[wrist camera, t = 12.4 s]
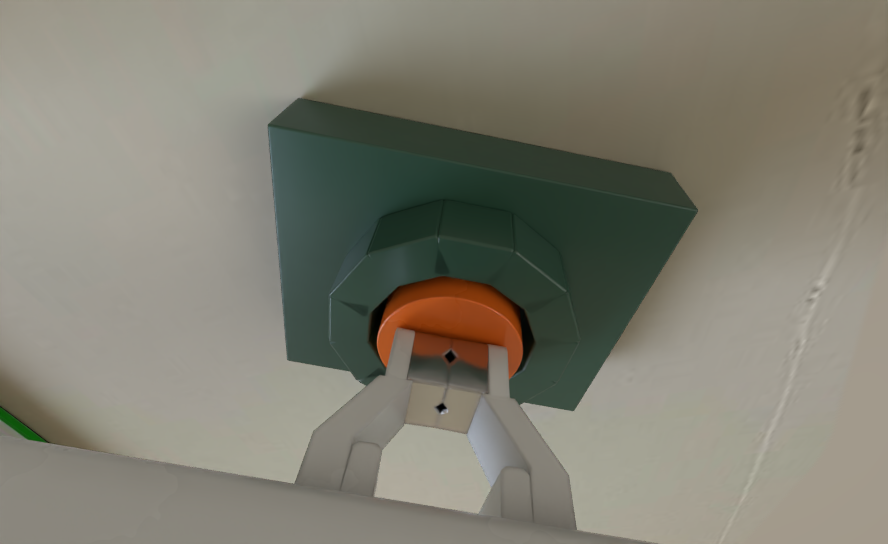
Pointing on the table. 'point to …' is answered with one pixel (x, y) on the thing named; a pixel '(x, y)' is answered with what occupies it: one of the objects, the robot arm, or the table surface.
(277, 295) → the table surface
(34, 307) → the table surface
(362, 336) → the button box
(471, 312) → the button
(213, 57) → the table surface
